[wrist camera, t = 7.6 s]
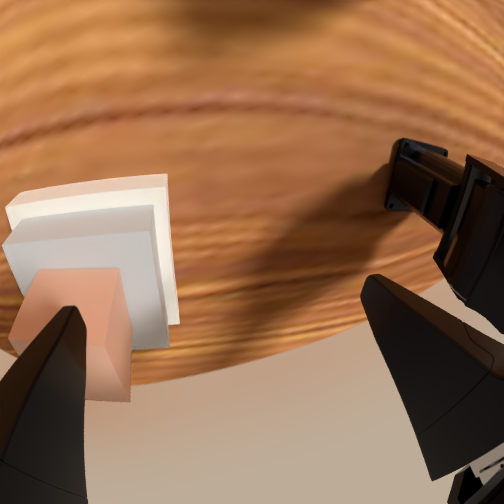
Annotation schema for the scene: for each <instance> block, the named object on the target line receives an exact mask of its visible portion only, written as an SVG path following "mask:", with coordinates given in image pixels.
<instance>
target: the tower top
mask: <svg viewBox="0 0 504 504" xmlns="http://www.w3.org/2000/svg"><path fill="white" fill-rule="evenodd" d="M2 247H3V250H4V252H5V255H6V257H7V260H8V262H9V265H10V267H11V270H12V272H13V274H14V277H15V279H16V281H17V283H18V286H19V288H20V290H21V292H22V294H23V296H24V298H25V296H26V294H27V292H28V290H29V288H30V286H31V284H32V282H33V280H34V278H35V276H36V274H37V272H38V270H39V269H97V268H119V269H120V275H121V280H122V285H123V290H124V295H125V299H126V304H127V308H128V313H129V317H130V321H131V325H132V329H133V341H132V350H139V349H157V348H170V346H169V329H168V314H167V308H166V302H165V296H164V290H163V283H162V276H161V269H160V262H159V254H158V246H157V237H156V227H155V217H154V205H141V206H129V207H118V208H107V209H98V210H88V211H79V212H71V213H63V214H55V215H47V216H40V217H33V218H26V219H22V220H21V221H20V222H19V224H18V225H17V226H16V227H15V229H14V230H13V231H12V232H11V234H10V235H9V236H8V238H7V239H6V240H5V242H4V243H3V245H2Z"/></svg>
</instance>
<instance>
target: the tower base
mask: <svg viewBox="0 0 504 504" xmlns="http://www.w3.org/2000/svg"><path fill="white" fill-rule="evenodd" d="M141 205H154V217H155V227H156V237H157V246H158V254H159V262H160V269H161V276H162V283H163V290H164V296H165V302H166V308H167V314H168V325H172V324H180V321H179V308H178V298H177V290H176V281H175V273H174V263H173V253H172V242H171V230H170V216H169V200H168V180H167V174H154V175H142V176H131V177H121V178H111V179H103V180H95V181H87V182H80V183H73V184H66V185H59V186H53V187H47V188H42V189H36V190H31V191H26V192H20V193H19V194H18V195H17V196H16V197H15V198H14V199H13V200H12V201H11V202H10V203H9V204H8V205H7V206H6V207H5V208H6V212H7V215H8V219H9V222H10V225H11V229H12V231H13V230H14V229H15V227H16V226H17V225H18V224H19V222H20V221H21V220H22V219H26V218H33V217H40V216H47V215H55V214H63V213H71V212H79V211H88V210H98V209H107V208H118V207H129V206H141Z"/></svg>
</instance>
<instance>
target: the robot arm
mask: <svg viewBox="0 0 504 504" xmlns="http://www.w3.org/2000/svg"><path fill="white" fill-rule="evenodd" d="M405 143H406V144H405ZM447 156H448V151H447V150H446V149H444V148H442V147H438V146H435V145H431V144H428V143H424V142H420V141H416V140H412V139H408V138H402V139H401V140H400V142H399V147H398V151H397V156H396V160H395V165H394V169H393V173H392V177H391V181H390V185H389V189H388V193H387V196H386V200H385V204H384V207H385V208H386V209H387V210H388V211H413V212H415V213H416V214H417V215H419V216H420V217H421V218H422V219H424V220H425V221H426V222H427V223H429V224H430V225H431V226H432V227H434V228H435V229H436V230H437V231H439V232H440V233H441V234H442V235H443V236H442V238H441V241H440V243H439V246H438V248H437V251H435V253H434V255H433V259H434V260H435V262H436V264H437V265H438V267H439V269H440V270H441V272H442V273H443V275H444V277H445V279H446V280H447V282H448V284H449V285H450V287H451V289H452V291H453V292H454V294H455V295H456V296H457V298H458V299H459V300H461V301H462V302H463V303H464V304H465V306H466V307H468V308H470V309H472V310H474V311H476V312H478V313H479V314H481V315H482V316H484V317H485V318H486V319H487V320H488V321H489V322H490V323H492V325H493V326H494V327H495V328H496V329H497V330H498V331H499V332H500V333H501V334H504V168H502V167H501V166H499V165H497V164H495V163H493V162H490V161H487V160H485V159H482V158H479V157H475V156H472V155H469V154H467V156H466V160H465V161H466V165H465V167H463V166H462V165H460V164H458V163H456V162H454V161H452V160H450V159H448V158H447ZM389 205H390V206H389ZM360 298H361V302H362V305H363V307H364V310H365V313H366V315H367V318H368V321H369V324H370V327H371V329H372V331H373V335H374V337H375V340H376V342H377V344H378V346H379V348H380V351H381V353H382V355H383V357H384V359H385V362H386V364H387V366H388V368H389V370H390V373H391V375H392V378H393V380H394V382H395V385H396V387H397V389H398V392H399V394H400V396H401V399H402V401H403V404H404V406H405V408H406V411H407V414H408V416H409V418H410V421H411V424H412V427H413V429H414V432H415V434H416V437H417V440H418V443H419V446H420V448H421V451H422V454H423V457H424V460H425V463H426V466H427V469H428V472H429V475H430V478H431V480H432V481H434V480H437V479H439V478H441V477H443V476H445V475H448V474H450V473H452V472H454V471H456V470H458V469H460V468H462V467H464V466H465V465H467V464H468V465H467V466H466V467H464V468H463V469H462V470H461V471H460V472H458V473H457V474H456V475H455V477H454V481H453V484H452V488H451V491H450V494H449V498H448V501H447V503H448V504H504V344H502V343H500V342H498V341H496V340H494V339H492V338H490V337H489V336H487V335H485V334H483V333H481V332H480V331H478V330H476V329H475V328H473V327H471V326H470V325H468V324H466V323H465V322H462V321H461V320H460V319H458V318H456V317H455V316H453V315H451V314H449V313H448V312H446V311H444V310H443V309H441V308H439V307H437V306H435V305H434V304H432V303H431V302H429V301H427V300H425V299H424V298H422V297H420V296H418V295H417V294H415V293H413V292H411V291H410V290H408V289H406V288H404V287H402V286H401V285H399V284H397V283H395V282H393V281H392V280H390V279H388V278H386V277H384V276H382V275H381V274H373V275H369V276H368V277H367V278H366V281H365V283H364V286H363V289H362V291H361V295H360ZM86 346H87V328H86V324H85V322H84V320H83V318H82V316H81V313H80V311H79V309H78V307H77V306H75V305H66V306H63V307H62V308H61V309H60V310H59V311H58V312H57V313H56V314H55V316H54V317H53V318H52V319H51V320H50V321H49V322H48V323H47V324H46V326H45V327H44V328H43V329H42V330H41V331H40V332H39V334H38V335H37V336H36V337H35V338H34V339H33V341H32V342H31V343H30V344H29V345H28V346H27V348H26V349H25V350H24V351H23V353H22V354H21V355H20V356H19V357H18V359H17V360H16V361H15V362H14V364H13V365H12V366H11V368H10V369H9V370H8V372H7V373H6V374H5V375H4V377H3V378H2V380H1V381H0V504H88V499H87V490H86V479H85V463H84V406H85V390H86Z"/></svg>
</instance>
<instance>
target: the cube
mask: <svg viewBox="0 0 504 504" xmlns="http://www.w3.org/2000/svg"><path fill="white" fill-rule="evenodd" d="M66 305H75V306H77V307H78V309H79V311H80V313H81V316H82V318H83V320H84V322H85V324H86V328H87V346H86V390H85V400H96V401H112V402H113V401H114V402H130V384H131V357H132V341H133V329H132V325H131V321H130V317H129V313H128V308H127V304H126V299H125V295H124V290H123V285H122V280H121V275H120V269H119V268H97V269H39V270H38V272H37V274H36V276H35V278H34V280H33V282H32V284H31V286H30V288H29V290H28V292H27V294H26V296H25V298H24V300H23V303H22V305H21V307H20V309H19V312H18V314H17V316H16V319H15V321H14V324H13V326H12V329H11V331H10V334H9V336H8V340H9V342H10V343H11V345H12V346H13V348H14V349H15V351H16V352H17V354H18V355H19V356H20V355H21V354H22V353H23V351H24V350H25V349H26V348H27V346H28V345H29V344H30V343H31V342H32V341H33V339H34V338H35V337H36V336H37V335H38V334H39V332H40V331H41V330H42V329H43V328H44V327H45V326H46V324H47V323H48V322H49V321H50V320H51V319H52V318H53V317H54V316H55V314H56V313H57V312H58V311H59V310H60V309H61V308H62V307H63V306H66Z"/></svg>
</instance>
